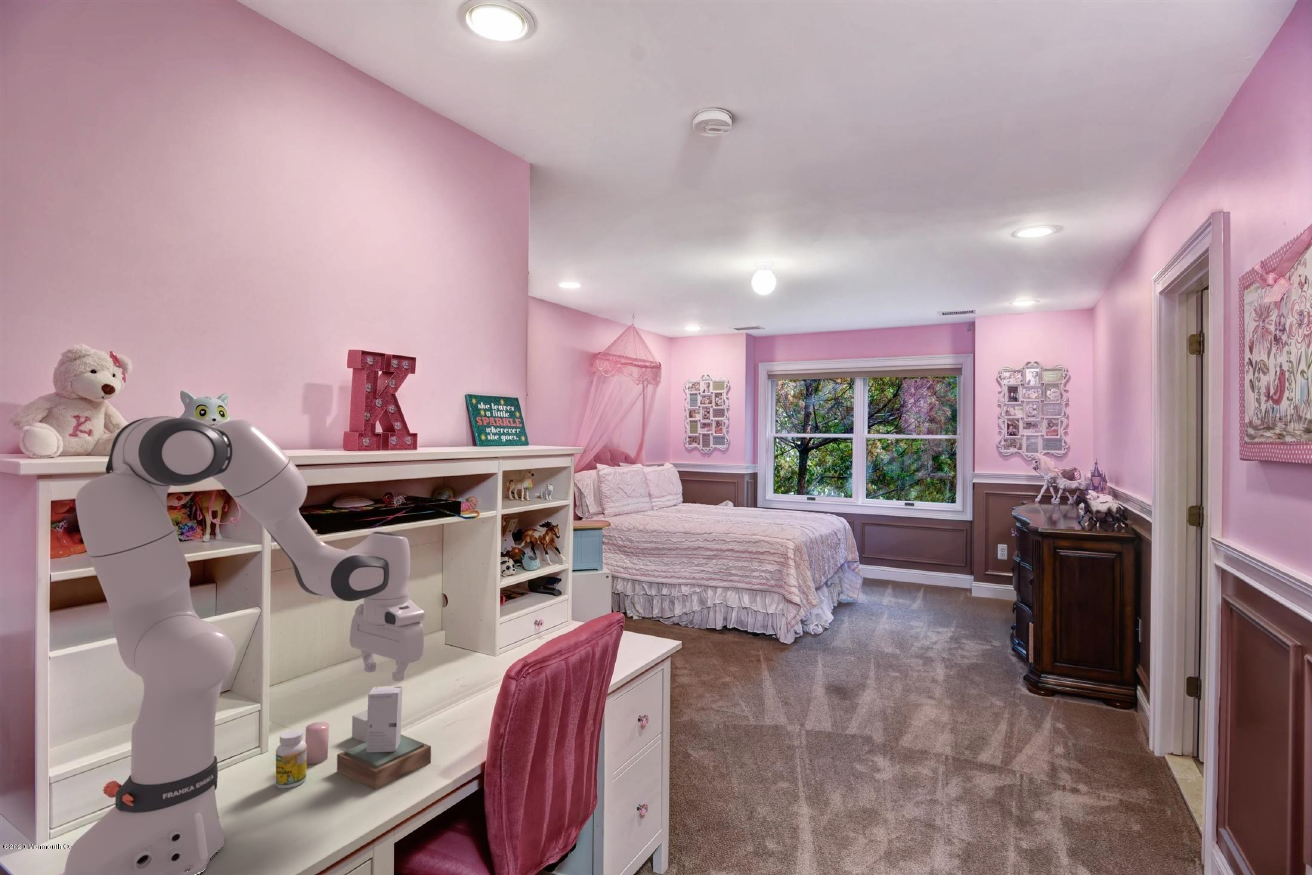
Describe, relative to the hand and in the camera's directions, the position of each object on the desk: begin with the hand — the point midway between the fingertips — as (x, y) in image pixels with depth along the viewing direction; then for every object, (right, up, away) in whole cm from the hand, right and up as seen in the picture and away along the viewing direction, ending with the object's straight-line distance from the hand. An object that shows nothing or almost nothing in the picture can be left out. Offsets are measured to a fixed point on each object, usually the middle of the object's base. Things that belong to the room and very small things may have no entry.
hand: (383, 675), depth 137 cm
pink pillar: (-16, -19, +3) cm, 25 cm away
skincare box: (0, -15, 0) cm, 15 cm away
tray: (0, -19, 0) cm, 19 cm away
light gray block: (-10, -19, +15) cm, 26 cm away
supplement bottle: (-16, -19, -6) cm, 26 cm away
